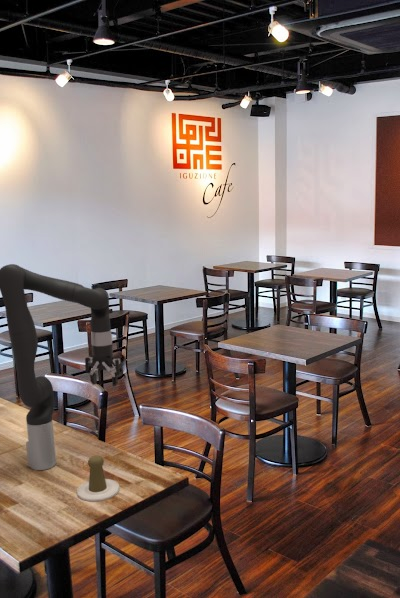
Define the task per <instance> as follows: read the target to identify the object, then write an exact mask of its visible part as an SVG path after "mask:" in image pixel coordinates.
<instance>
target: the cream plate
mask: <svg viewBox="0 0 400 598" xmlns="http://www.w3.org/2000/svg"><path fill="white" fill-rule="evenodd" d="M105 481H106V486H107V488H106V489H105V490H103V491H101V492H91V491H89V480H88V481H85V482H83V483H82V484H80V485H79V486H78V487H77V489H76V494H77V497H78V498H79V499H81V500H82V501H85V502H103V501H107V500H109V499H112V498H113V497H115V496H116V495H117V494H118V493H119V491H120V485H119V483H118V482H117V481H116V480H114V479H111V478H110V479H109V478H105Z"/></svg>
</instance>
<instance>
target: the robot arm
mask: <svg viewBox="0 0 400 598" xmlns="http://www.w3.org/2000/svg"><path fill="white" fill-rule="evenodd" d="M27 290H28V291H33V292H38V293H40V294H44V295H47V296H49V297H52V298H55V299H58V300H62V301H65V302H69V303H75V304H78V305H81V306H84V307H87V308H89V309H90V314H91V318H90V329H91V334H90V335H91V336H90V338H91V339H90V341H91V342H90V343H91V354H92V356H90V355H89V356H87V357H85V358H84V362H85V365H84V366H85V371H84V372H85V373H86V374H89V375H90V382H91V384H92V385H93V386H95V385H96V384H97V383H98V381H97V378H98V377H97V371H99V370H100V371H101V370H103V371H107V372H108V373H110V374H111V376H112V377H111V381H112V383H111V385H112V387H116V386H117V385H118V384H119V379H118V378H119V376H120V375H122V374H123V367H122V364H123V363H122V359H121V358H120V357H119V358H114V357H113V355H114V350H113V349H114V348H113V336H112V335H113V334H112V330H111V329H112V328H111V327H112V326H111V319H110V298H109V296H110V295H109V293H108V291H107V290H106V289H104V288H102V287H96V288H94V289H93V288H90V287H86V286H83V285H82V284H80V283H77V282H73V281H68V280H66V279H59V278H55V277H50V276H46V275H42V274H39V273H36V272H34V271H31V270H28V269H26V268H24V267H22V266H19V265H17V264H13V263H11V264H6V265H4V266H2V267H0V293H1V294H0V295H1V296H2V299H3V304H4V307H5V314H6V315H5V316H6V317H5V318H6V322H7V327H8V328H7V329H8V335H9V340H10V345H11V348H12V352H13V358H14V363H15V368H16V376H17V377H16V378H17V388H18V394H19V398H20V400H21V402H22V404H23V405H24V406H26V407H28V408H30V409H29V410H28V412H27V414H26V417H25V421H26V430H27V441H26V442H25V443H26V445H25V446H26V456H27V466H28V467H29V468H31V469H32V470H34V471H45V470H49V469H51V468H54V467H55V466H56V465H57V459H56V445H55V444H56V443H55V434H54V432H55V431H54V422H53V415H54V412H55V402H54V399H55V398H54V387H53V384H52V383H51V381H50V380H49V378H47V377H45V376H37V377H36V372H35V371H36V370H35V361H36V356H37V352H38V346H39V345H38V344H39V340H38V334H37V329H36V326H35V325H36V324H35V322H34V319H33V317H32V314H31V311H30V309H29V306H28V304H27V300H26V294H25V291H27ZM92 363H93V364H94V365H93V366H92Z"/></svg>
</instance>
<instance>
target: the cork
mask: <svg viewBox="0 0 400 598" xmlns="http://www.w3.org/2000/svg"><path fill="white" fill-rule="evenodd" d="M104 463H105V461H104V458H103V456H101V455H98V454H97V455H92V456H90V457H89V459H88V460H87V465H88V467H89V475H88V477H89V478H88V481H89V491H91V492H101V491H103V490H105V489H106V488H107V486H106V481H105V479H106V477H105V473H104V467H103V466H104Z"/></svg>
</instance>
